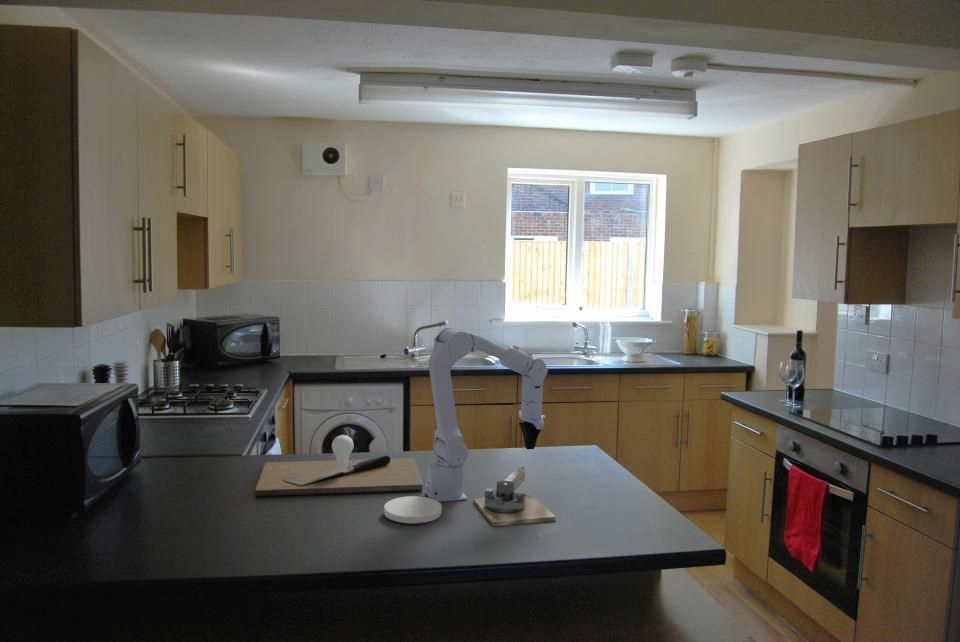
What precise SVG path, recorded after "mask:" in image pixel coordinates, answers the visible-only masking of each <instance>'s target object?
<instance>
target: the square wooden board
mask: <svg viewBox="0 0 960 642" xmlns="http://www.w3.org/2000/svg"><path fill="white" fill-rule="evenodd" d="M520 493H521V492H520ZM521 494H523V492H522V493H521ZM473 504H474V505H475V507H476V508H477V509H478V510H479V511H480V513H481V514H482V515H483V516H484V517H485V519H486V520H487V521H488V522H489V523H490V524H491V525H492V527H501V526H511V525H522V524H534V523H535V524H536V523H545V522H554V521H556V518H557V516H556V515H555V514H554V513H552V512H551V511H550V510H549V509H548V508H547V507H546V505H544V504H543V503H542V502H540V501H539V499H537V498H536V497H535V496H534V495H533V494H525V508H524V509H523V510H522V511H520V512H516V513H498V512H493V511H490V510H488V509H487V508H486V507H485V497H481V498H480V497H479V498H473Z"/></svg>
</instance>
